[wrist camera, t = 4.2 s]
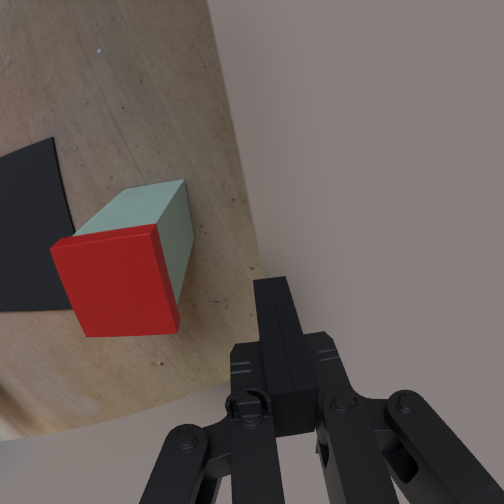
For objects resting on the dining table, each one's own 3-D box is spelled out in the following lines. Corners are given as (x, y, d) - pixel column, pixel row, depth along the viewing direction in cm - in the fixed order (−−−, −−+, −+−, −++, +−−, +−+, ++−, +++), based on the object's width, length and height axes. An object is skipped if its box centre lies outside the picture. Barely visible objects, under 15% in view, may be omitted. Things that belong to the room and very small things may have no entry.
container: (187, 175, 28) (150, 233, 15) (198, 240, 31) (177, 333, 18) (121, 186, 28) (49, 248, 15) (136, 248, 30) (86, 337, 18)
